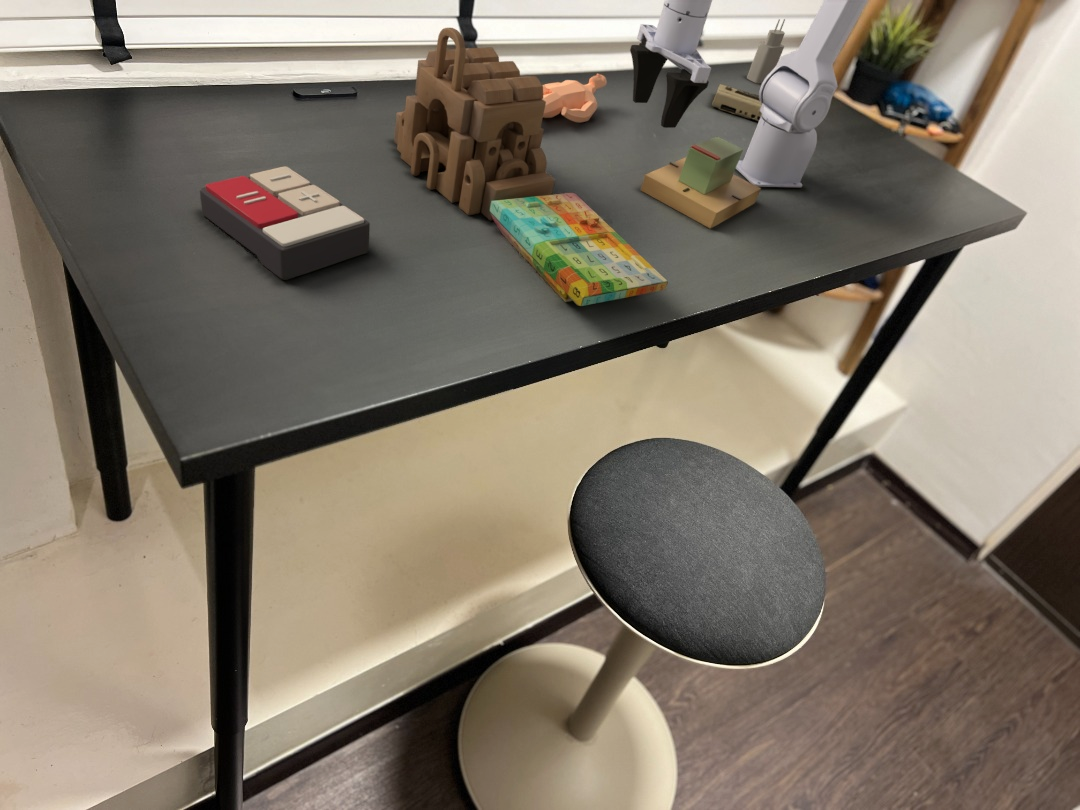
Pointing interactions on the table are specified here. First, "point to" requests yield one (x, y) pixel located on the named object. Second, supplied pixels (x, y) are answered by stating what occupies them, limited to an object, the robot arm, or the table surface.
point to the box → (710, 164)
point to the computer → (738, 102)
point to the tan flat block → (699, 195)
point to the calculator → (285, 221)
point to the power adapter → (767, 55)
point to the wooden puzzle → (474, 127)
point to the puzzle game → (574, 249)
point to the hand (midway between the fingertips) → (653, 113)
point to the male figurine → (572, 98)
